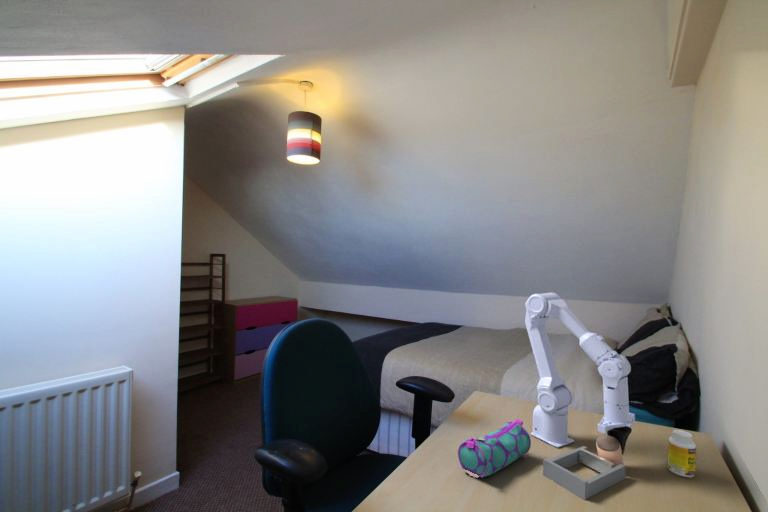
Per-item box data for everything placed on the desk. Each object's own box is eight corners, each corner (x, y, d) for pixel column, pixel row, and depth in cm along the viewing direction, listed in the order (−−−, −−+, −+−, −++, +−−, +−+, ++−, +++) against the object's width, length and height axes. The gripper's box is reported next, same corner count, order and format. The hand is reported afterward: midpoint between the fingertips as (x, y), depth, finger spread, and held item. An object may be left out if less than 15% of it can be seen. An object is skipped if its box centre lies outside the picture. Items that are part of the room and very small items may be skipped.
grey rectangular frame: (543, 474, 96) (543, 459, 96) (583, 457, 105) (583, 443, 105) (584, 499, 87) (585, 482, 87) (625, 478, 95) (625, 462, 95)
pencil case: (485, 488, 90) (485, 448, 90) (456, 471, 97) (457, 433, 97) (532, 460, 103) (533, 424, 103) (504, 446, 110) (504, 413, 110)
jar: (595, 463, 102) (590, 440, 101) (610, 454, 104) (606, 432, 103) (613, 475, 97) (608, 452, 96) (629, 466, 99) (625, 442, 98)
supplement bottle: (690, 481, 95) (691, 440, 95) (664, 470, 99) (665, 431, 99) (698, 474, 98) (699, 434, 98) (673, 464, 102) (674, 426, 102)
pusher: (579, 461, 102) (579, 448, 102) (581, 460, 102) (581, 448, 102) (611, 478, 94) (611, 464, 94) (613, 476, 95) (613, 463, 95)
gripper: (616, 412, 94) (618, 468, 94) (646, 401, 102) (648, 452, 101) (588, 404, 100) (590, 456, 100) (618, 393, 108) (620, 442, 107)
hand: (618, 453), depth 101 cm, fingers closed, pressing on jar
